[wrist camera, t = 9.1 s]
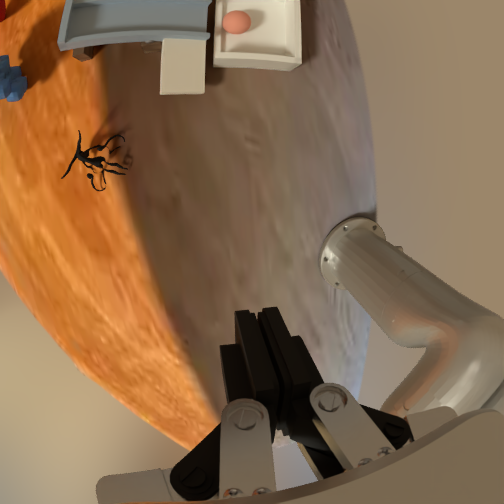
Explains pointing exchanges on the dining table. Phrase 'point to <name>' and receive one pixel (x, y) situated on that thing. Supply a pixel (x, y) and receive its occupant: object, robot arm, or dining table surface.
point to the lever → (145, 34)
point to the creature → (94, 160)
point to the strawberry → (2, 10)
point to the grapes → (11, 81)
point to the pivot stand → (152, 46)
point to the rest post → (83, 53)
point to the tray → (259, 35)
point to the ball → (236, 22)
